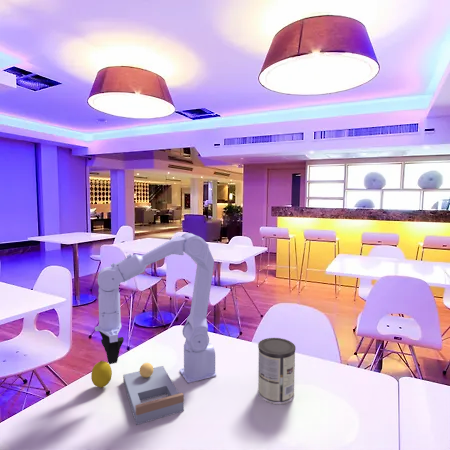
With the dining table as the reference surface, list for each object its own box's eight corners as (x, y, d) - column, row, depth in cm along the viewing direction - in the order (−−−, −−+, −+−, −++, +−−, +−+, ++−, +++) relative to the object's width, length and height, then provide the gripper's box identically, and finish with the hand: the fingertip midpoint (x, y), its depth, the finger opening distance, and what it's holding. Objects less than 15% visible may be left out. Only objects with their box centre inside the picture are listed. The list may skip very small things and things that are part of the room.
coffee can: (263, 379, 98) (264, 334, 97) (297, 388, 94) (299, 341, 93) (252, 398, 89) (253, 349, 88) (289, 409, 84) (290, 357, 83)
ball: (151, 371, 97) (151, 359, 97) (154, 378, 94) (154, 365, 94) (138, 374, 96) (138, 362, 95) (141, 381, 92) (140, 368, 92)
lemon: (105, 394, 90) (104, 367, 89) (87, 392, 91) (86, 364, 90) (115, 383, 95) (115, 357, 95) (99, 381, 97) (98, 355, 96)
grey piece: (163, 373, 101) (162, 359, 101) (183, 410, 83) (183, 394, 83) (123, 382, 96) (123, 368, 96) (136, 424, 78) (136, 407, 78)
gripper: (92, 304, 95) (93, 349, 96) (96, 321, 82) (98, 372, 83) (117, 301, 98) (118, 344, 99) (125, 316, 85) (126, 366, 86)
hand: (111, 356), depth 92 cm, fingers open, 7 cm apart
